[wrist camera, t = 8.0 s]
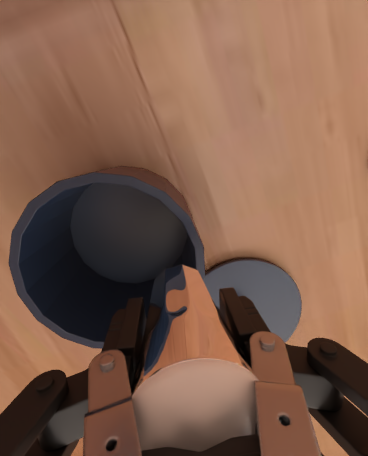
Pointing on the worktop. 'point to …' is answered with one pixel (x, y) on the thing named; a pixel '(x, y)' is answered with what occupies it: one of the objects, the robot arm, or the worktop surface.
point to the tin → (99, 248)
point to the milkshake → (190, 369)
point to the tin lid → (261, 291)
